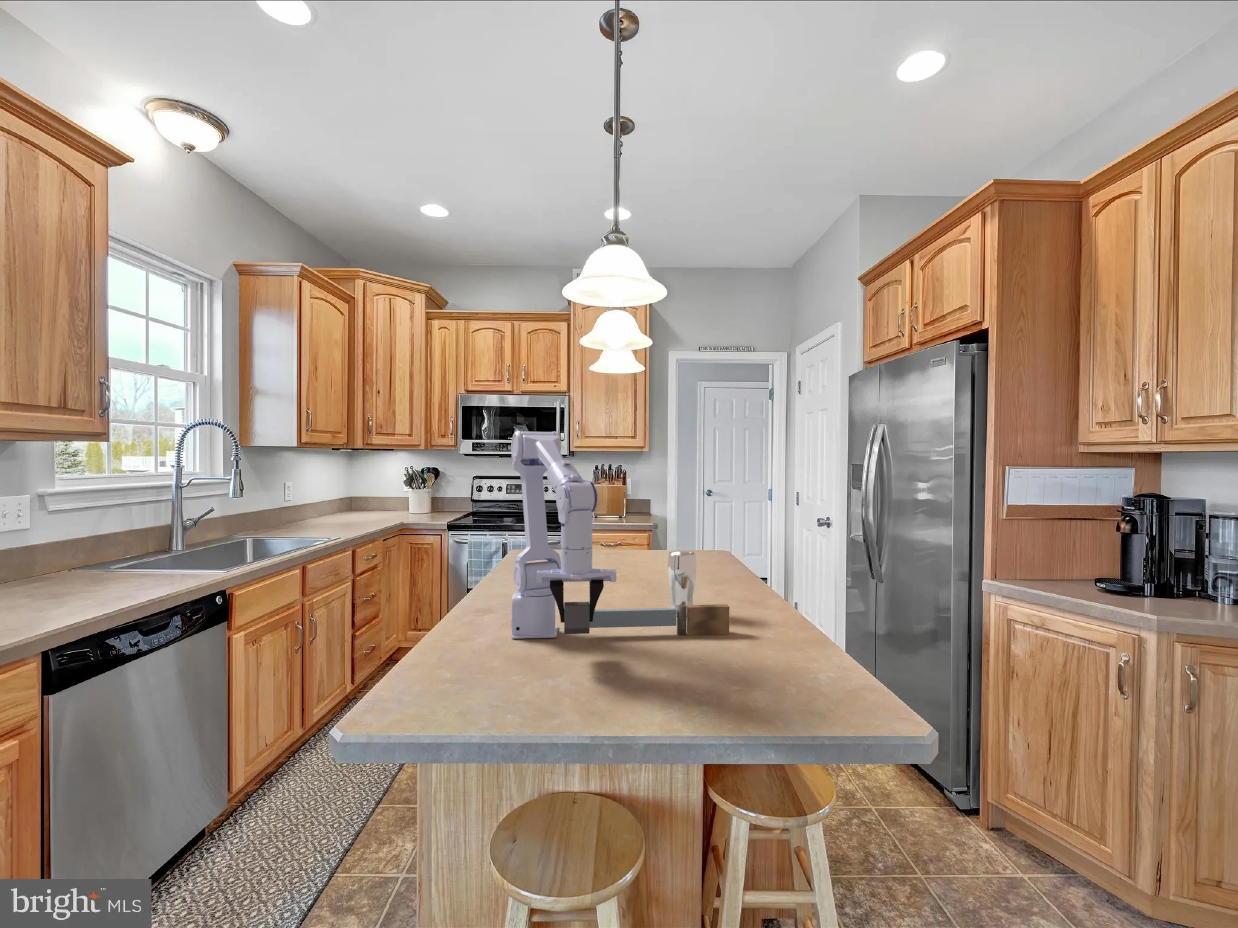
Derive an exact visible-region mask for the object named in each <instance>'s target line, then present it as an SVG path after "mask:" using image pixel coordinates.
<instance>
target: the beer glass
mask: <svg viewBox="0 0 1238 928" xmlns="http://www.w3.org/2000/svg"><path fill="white" fill-rule="evenodd" d="M696 556H697V555H696V552H694V551H688V550H673V551H669V552H668V558H667V579H668V587H669V592H670V605H669V606H670V607H669V608H676V618H677V606H678V605H684V606H686V619H687V605H694V602H693V600H694V592H695V587H696V586H695V585H696V581H697V580H696V579H697V558H696Z"/></svg>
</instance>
